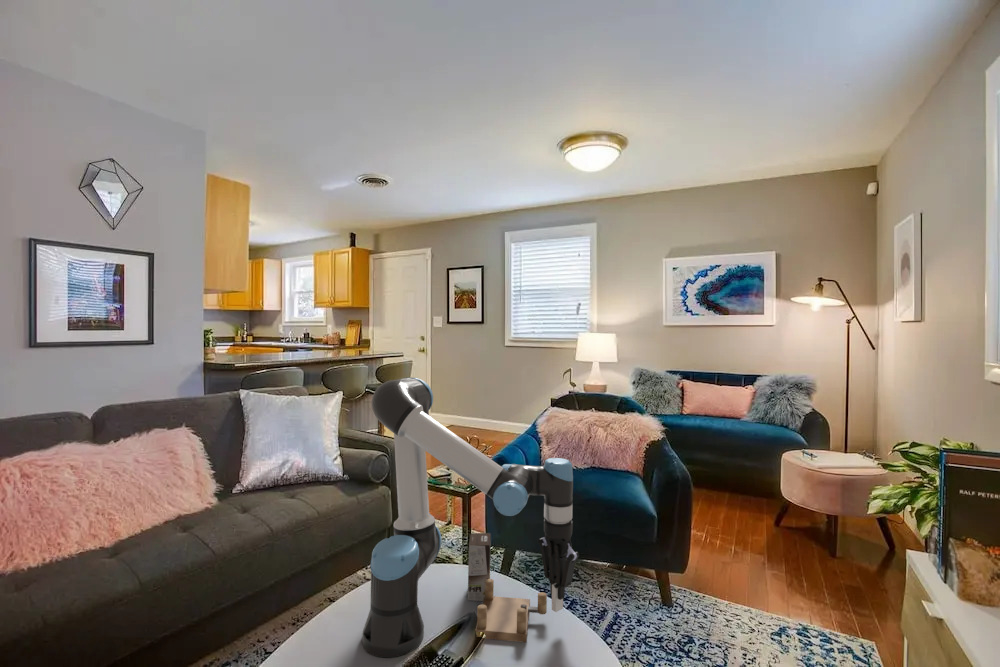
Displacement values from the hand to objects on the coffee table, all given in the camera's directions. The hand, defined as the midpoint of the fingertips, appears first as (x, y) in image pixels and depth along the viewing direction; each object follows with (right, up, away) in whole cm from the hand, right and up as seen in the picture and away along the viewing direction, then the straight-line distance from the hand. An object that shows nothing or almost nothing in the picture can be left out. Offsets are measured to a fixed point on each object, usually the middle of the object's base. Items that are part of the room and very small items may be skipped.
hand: (557, 609), depth 121 cm
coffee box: (-21, -5, +17) cm, 28 cm away
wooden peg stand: (-14, -5, +3) cm, 15 cm away
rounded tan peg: (-5, -3, +4) cm, 7 cm away
